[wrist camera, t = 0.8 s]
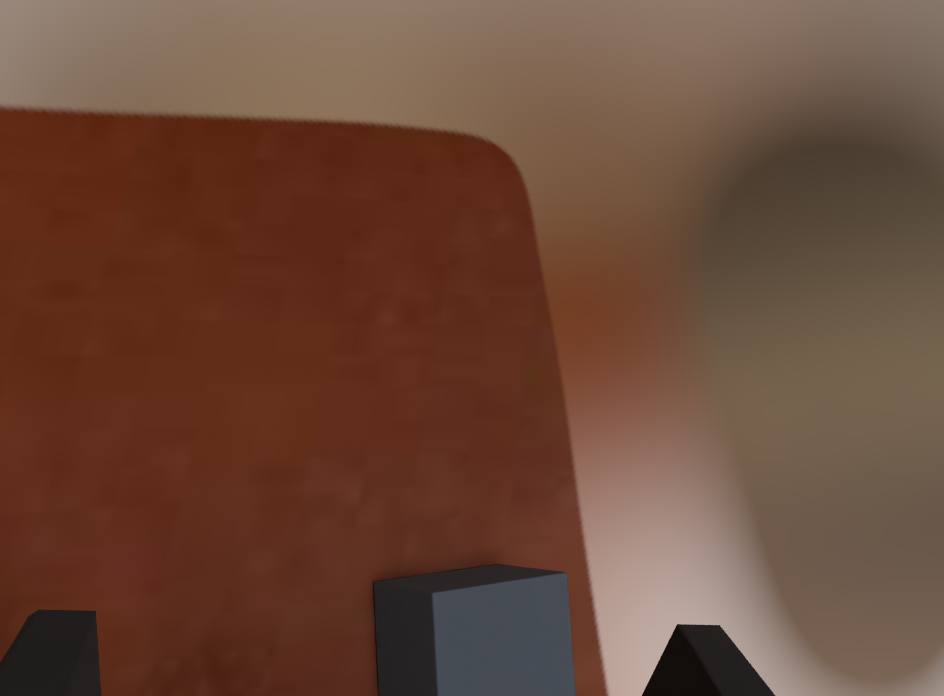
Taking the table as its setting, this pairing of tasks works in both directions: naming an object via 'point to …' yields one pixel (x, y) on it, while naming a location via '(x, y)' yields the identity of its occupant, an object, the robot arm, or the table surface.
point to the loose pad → (475, 633)
